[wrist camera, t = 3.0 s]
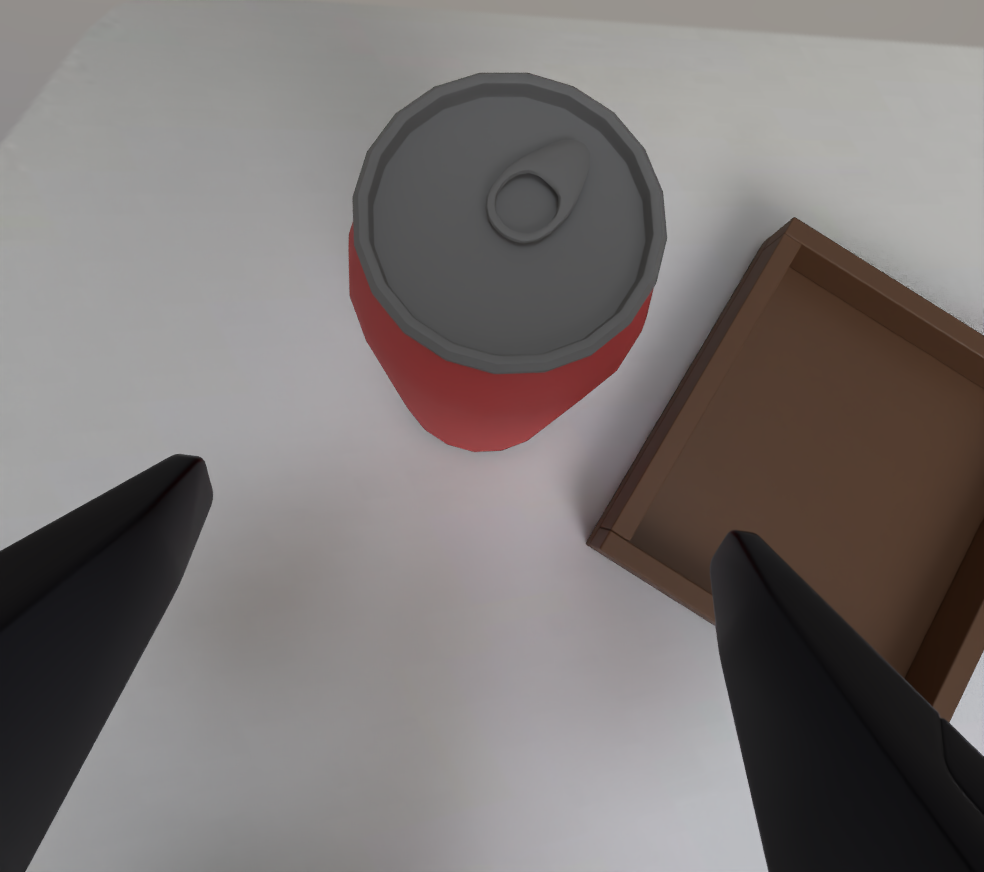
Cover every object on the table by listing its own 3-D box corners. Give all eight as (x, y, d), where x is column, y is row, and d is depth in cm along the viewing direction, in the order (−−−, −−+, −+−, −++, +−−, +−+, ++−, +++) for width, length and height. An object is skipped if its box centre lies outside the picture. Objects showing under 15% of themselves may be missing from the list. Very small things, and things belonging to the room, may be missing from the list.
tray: (884, 733, 21) (932, 760, 19) (585, 543, 21) (598, 549, 19) (1041, 415, 23) (1100, 407, 20) (763, 241, 23) (794, 216, 21)
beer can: (599, 365, 22) (770, 210, 10) (488, 489, 21) (527, 483, 9) (477, 256, 22) (499, -29, 10) (363, 374, 21) (236, 219, 9)
